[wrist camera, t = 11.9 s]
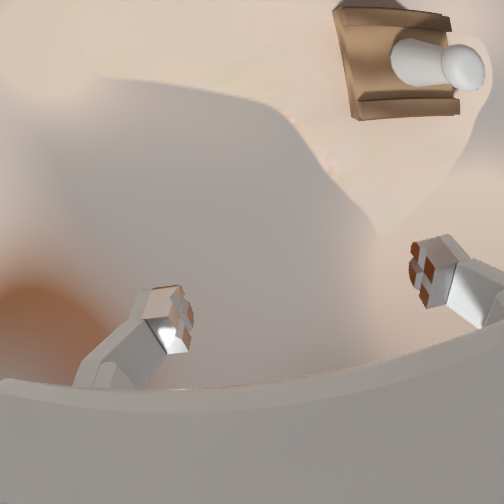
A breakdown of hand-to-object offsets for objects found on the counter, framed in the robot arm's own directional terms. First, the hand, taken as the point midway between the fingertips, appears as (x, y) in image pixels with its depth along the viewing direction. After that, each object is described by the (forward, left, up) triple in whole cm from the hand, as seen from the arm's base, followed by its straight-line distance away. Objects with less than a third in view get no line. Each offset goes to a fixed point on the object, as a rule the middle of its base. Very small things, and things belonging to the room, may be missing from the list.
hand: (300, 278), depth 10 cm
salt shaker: (-6, +18, -26) cm, 32 cm away
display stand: (-6, +18, -29) cm, 35 cm away
